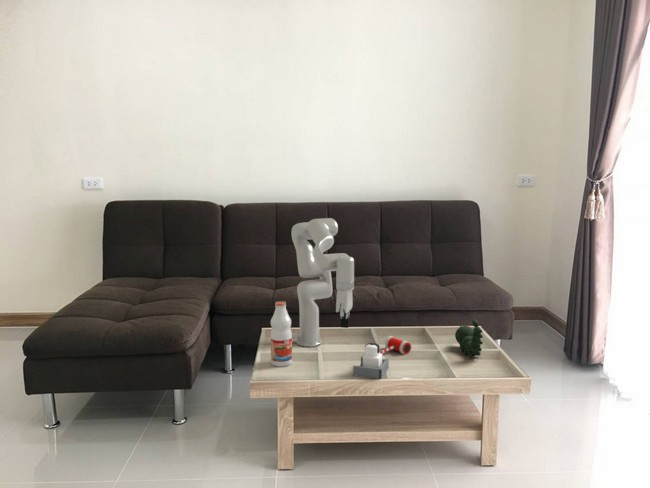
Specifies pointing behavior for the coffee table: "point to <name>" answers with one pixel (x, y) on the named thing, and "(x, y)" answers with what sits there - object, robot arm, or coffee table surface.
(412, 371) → the coffee table surface
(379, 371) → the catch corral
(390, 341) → the toy hammer
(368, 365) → the medicine bottle
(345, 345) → the coffee table surface
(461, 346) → the toy figurine
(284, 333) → the fruit juice
